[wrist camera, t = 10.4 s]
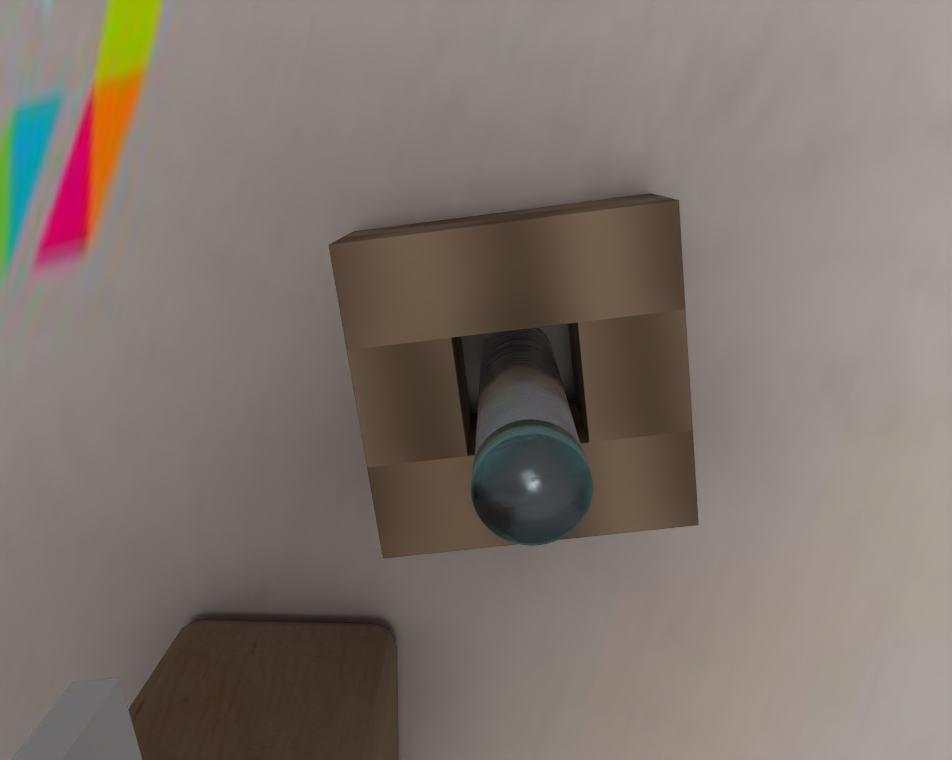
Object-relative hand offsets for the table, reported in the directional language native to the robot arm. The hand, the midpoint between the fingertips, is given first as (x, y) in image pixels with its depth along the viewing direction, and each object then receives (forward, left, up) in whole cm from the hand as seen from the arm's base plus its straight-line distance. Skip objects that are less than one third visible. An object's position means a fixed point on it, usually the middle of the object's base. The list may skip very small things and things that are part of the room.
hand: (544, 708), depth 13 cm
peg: (0, 0, -22) cm, 22 cm away
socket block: (0, 0, -22) cm, 22 cm away
